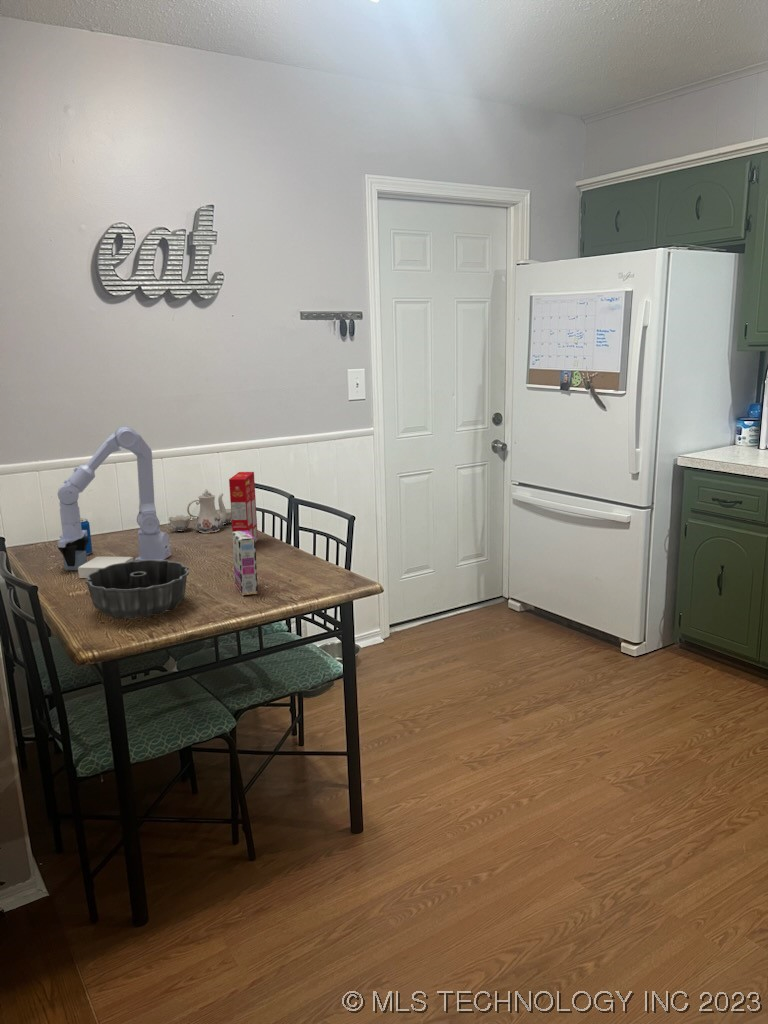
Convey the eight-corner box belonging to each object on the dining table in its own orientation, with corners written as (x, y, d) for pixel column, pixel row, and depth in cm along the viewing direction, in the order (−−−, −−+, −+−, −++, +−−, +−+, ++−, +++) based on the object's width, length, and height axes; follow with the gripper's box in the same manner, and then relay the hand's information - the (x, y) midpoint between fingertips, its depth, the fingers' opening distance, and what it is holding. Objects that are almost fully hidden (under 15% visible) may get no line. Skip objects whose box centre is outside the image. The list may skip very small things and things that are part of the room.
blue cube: (87, 565, 243) (85, 550, 242) (79, 570, 238) (77, 555, 237) (72, 565, 244) (71, 550, 243) (64, 569, 239) (62, 554, 238)
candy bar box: (259, 594, 212) (255, 538, 208) (241, 596, 210) (237, 540, 207) (251, 583, 222) (248, 529, 219) (234, 585, 220) (231, 531, 217)
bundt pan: (211, 606, 204) (208, 570, 201) (122, 634, 185) (118, 595, 182) (158, 586, 221) (155, 554, 219) (71, 611, 202) (67, 575, 200)
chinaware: (229, 524, 304) (224, 483, 301) (249, 526, 291) (245, 484, 288) (163, 536, 286) (157, 493, 284) (182, 539, 273) (176, 494, 271)
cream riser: (134, 569, 240) (132, 557, 239) (116, 580, 228) (115, 568, 227) (98, 568, 241) (97, 556, 241) (79, 580, 230) (77, 567, 229)
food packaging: (243, 540, 271) (239, 471, 265) (257, 540, 271) (253, 471, 265) (233, 551, 257) (229, 479, 251) (249, 551, 256) (244, 479, 251)
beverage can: (96, 552, 259) (92, 518, 257) (86, 557, 253) (83, 522, 250) (78, 551, 260) (74, 518, 257) (68, 557, 254) (64, 522, 251)
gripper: (71, 516, 245) (75, 556, 248) (46, 527, 231) (51, 569, 234) (91, 517, 245) (95, 557, 248) (67, 527, 231) (72, 570, 234)
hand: (75, 563), depth 241 cm, fingers closed on blue cube, 5 cm apart
